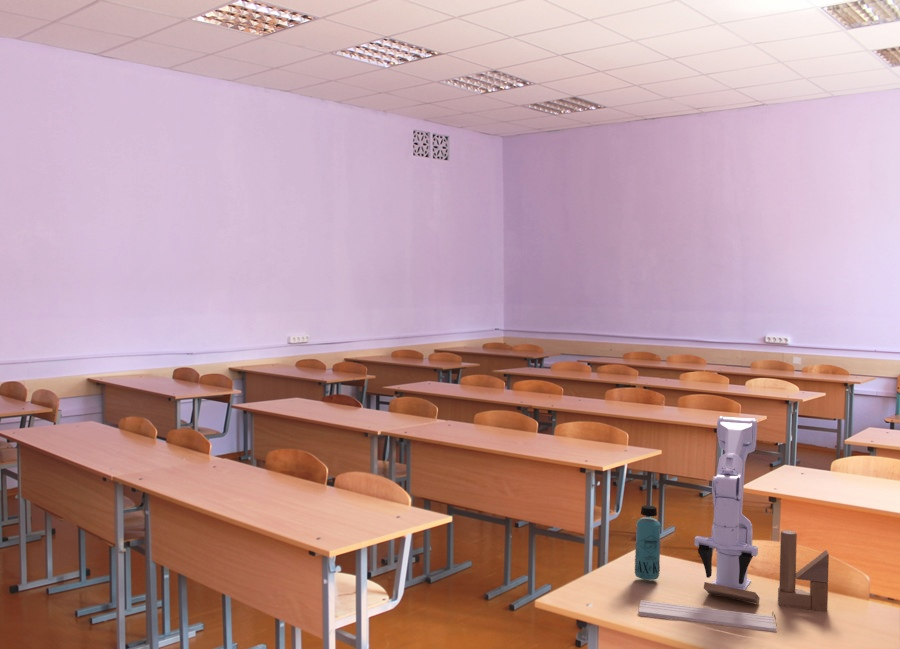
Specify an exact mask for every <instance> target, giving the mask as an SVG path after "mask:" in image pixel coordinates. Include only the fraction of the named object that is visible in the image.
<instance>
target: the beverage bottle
mask: <svg viewBox="0 0 900 649" xmlns="http://www.w3.org/2000/svg"><path fill="white" fill-rule="evenodd" d="M657 509H658V508H657V507H656V506H654V505H648V504H647V505H642V506H641V511H640V515H642V516H643V517H640V518H639V519H638V520H637V521H636V530H635V531H636V534H635V555H634V574H635V576H636V577H637V578H639V579H641V580H646V581H653V580H657V579H659V576H660V575H661V574H660V573H661V572H660V571H661V567H660V563H661V560H660V559H661V557H660V556H661V528H662V527H661V522H660V521H659V520H658V519H656V518H655V517H656V516H658V512H657V511H658V510H657ZM644 516H645V517H644ZM653 517H654V518H653Z"/></svg>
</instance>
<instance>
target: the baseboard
mask: <svg viewBox="0 0 900 649" xmlns="http://www.w3.org/2000/svg"><path fill="white" fill-rule="evenodd" d="M638 616H642V617H643V616H644V617H652V618H657V617H658V618H659V619H667V620H680V621H689V622H697V623H703V624H704V623H705V624H711V625H720V626H726V627H736V628H745V629H752V630H759V631H765V632H766V631H767V632H775V633H777V631H778V630H777V625H778V624H777V623H776V619H777V618H776V614H775V613H774V612H772V614H771V615H766V614H758V613H757V614H756V613H750V612H742V611H741V612H740V611H733V610H723V609H717V608H709V607H699V606H691V605H683V604H675V603H667V602H658V601H650V600H644V599H643V600H642V599H641V600H640V602H639V608H638Z"/></svg>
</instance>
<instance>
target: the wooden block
mask: <svg viewBox="0 0 900 649" xmlns="http://www.w3.org/2000/svg"><path fill="white" fill-rule="evenodd" d="M797 538H798V536H797V532H795V531H793V530H787V529H784V530H781V532H780V550H779V551H780V552H779V553H780V556H779V587H778V588H777V589H778V591H777V603H778V606H780V607H786V608H787V607H788V608H794V609H795V608H796V609H804V610H811V611H817V612H824V613H826V612H828V600H829V564H830V563H829V562H830V559H829V558H830V555H829V552H828V549H826V550H824V551H823V552H822V553H820V554H819V555H818V556H817V557H815V558H814V559H812V560H811V561H809V563H808V564H806V565H805V566H804V567H802V568H801V569H800V570H798V571H797V542H798V541H797V540H798V539H797ZM797 580H798V581H799V580H802V581H809V592H808V591H805V590H803V589H798V588H797V589H796V586H797V585H796V581H797Z"/></svg>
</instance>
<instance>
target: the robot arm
mask: <svg viewBox="0 0 900 649" xmlns="http://www.w3.org/2000/svg"><path fill="white" fill-rule="evenodd" d="M716 436H717V440H718V441H717V443H718V445H719V449H720V450H723V451H724V453H723V454H722V455H720V457H719V459H718V464H717V470H716V475H713V477H712V485H711V487H712V488H711V494H712V505H713V506H714V507H713V521H712V526H711V535H710V536H711V537H706V536H700V535H696V536H695V537H694V546H696V547H698V548H697V553H698V555H699V557H700V559H701V561H702V563H703V567H704V572H705V576H706V578H709V579H710V578H711V576H712V571H713V569H712V564H713V563H712V560H713V558H712V557H713V549H715V552H716V577H715V579H714V581H712V584H717V585H722V586H727V587H731V588H736V589H741V590H746V589H747V588H748V586H749V585H750V584H751V583H752V579H748V568H749V565H750V563H751V561H752V559H753V557H757V556H758V554H759V552H758V551H759V546H756V545H753V535H754V534H753V533H754V532H753V523H752V522H751V520H750V519H749V518H747V517H746V516H745V515H744V514H743V502H744V486H745V484H744V483H745V471H746V470H745V468H746V461H747V458H748V454H751V453H753V452H755V450H756V447H757V438H758V437H757V436H758V421H757V419H756V418H755V417H753V418H750V417H749V418H747V417H746V418H745V417H732V416H723V415H720V416H718V418H717V424H716Z"/></svg>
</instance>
